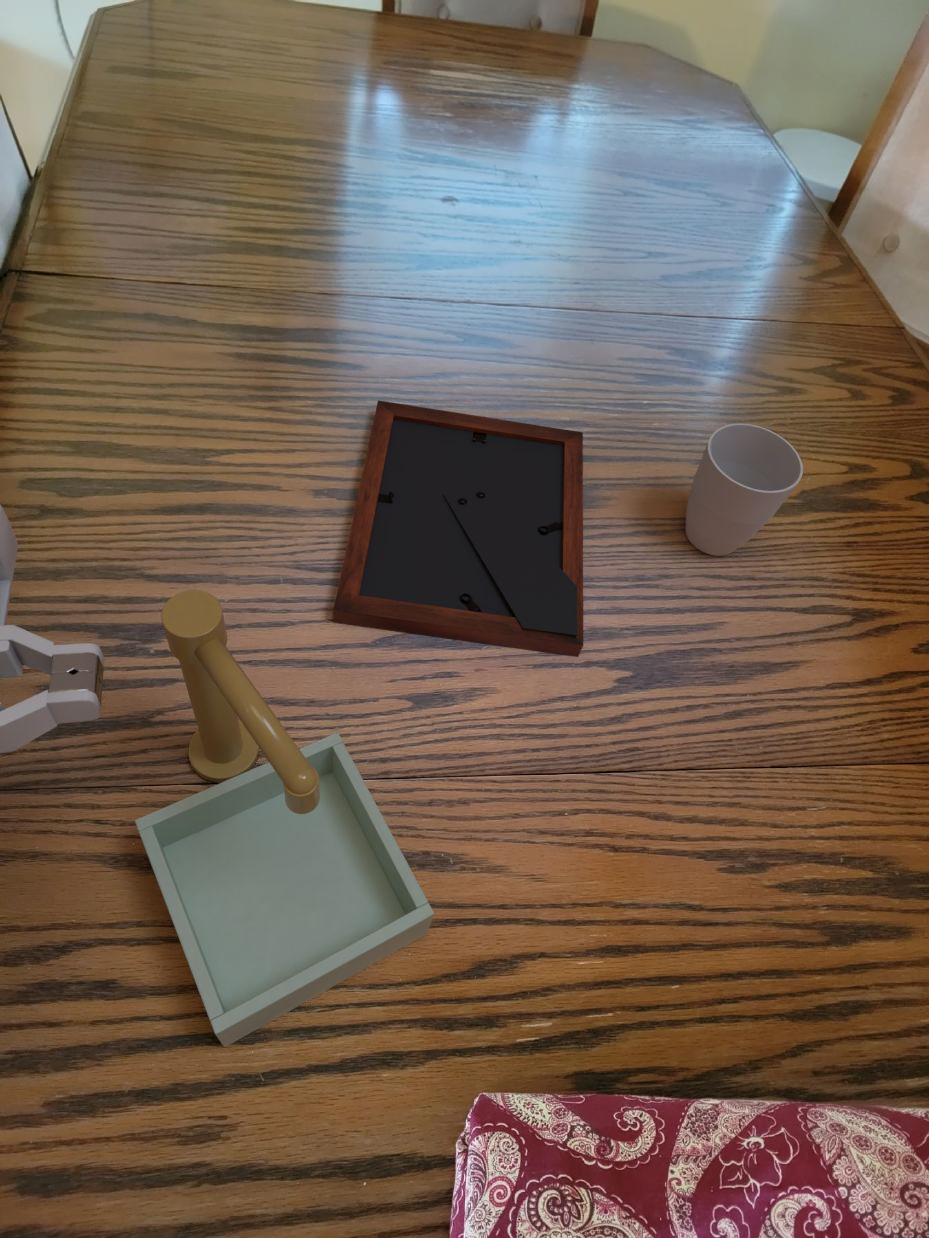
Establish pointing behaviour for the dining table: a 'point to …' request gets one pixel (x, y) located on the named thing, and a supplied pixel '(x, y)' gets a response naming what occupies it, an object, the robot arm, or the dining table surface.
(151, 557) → the dining table surface
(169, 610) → the spout
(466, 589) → the picture frame
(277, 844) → the sink
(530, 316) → the dining table surface
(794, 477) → the cup
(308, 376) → the dining table surface
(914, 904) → the dining table surface
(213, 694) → the faucet base
